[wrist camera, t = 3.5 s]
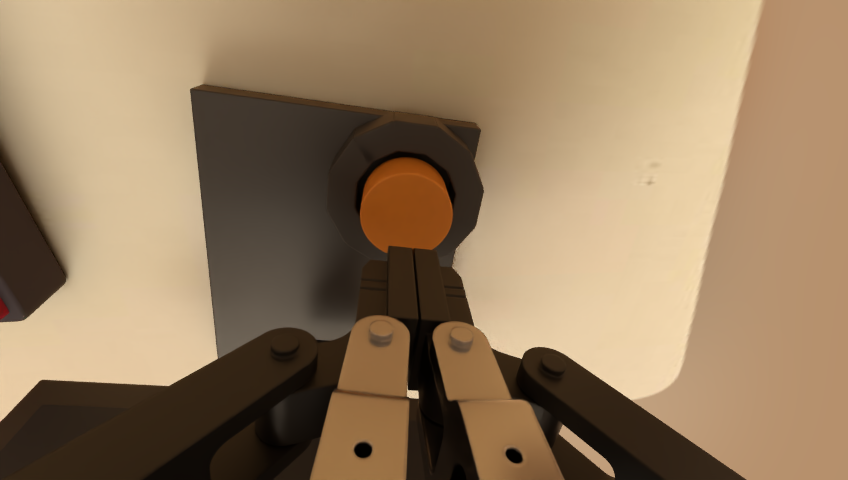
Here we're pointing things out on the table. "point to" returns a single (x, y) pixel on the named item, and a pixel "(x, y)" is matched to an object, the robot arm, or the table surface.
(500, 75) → the table surface
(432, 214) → the power button
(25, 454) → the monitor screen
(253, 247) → the monitor base
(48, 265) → the calculator
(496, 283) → the table surface
